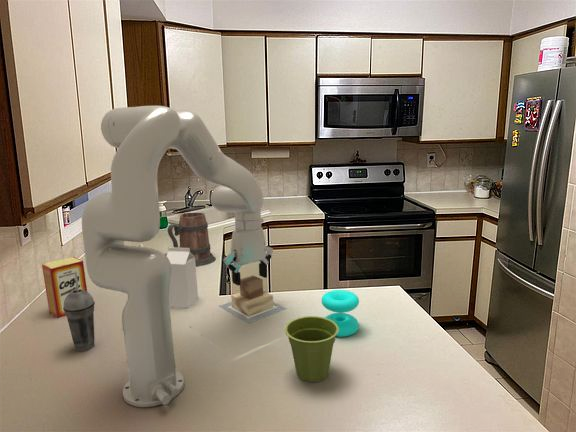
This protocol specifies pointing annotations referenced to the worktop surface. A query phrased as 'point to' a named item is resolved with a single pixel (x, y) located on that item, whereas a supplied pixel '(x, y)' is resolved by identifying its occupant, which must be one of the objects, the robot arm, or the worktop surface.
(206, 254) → the tankard
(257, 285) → the walnut block
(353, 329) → the donuts
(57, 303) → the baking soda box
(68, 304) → the beverage cup
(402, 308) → the worktop surface
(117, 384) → the worktop surface
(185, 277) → the milk carton
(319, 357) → the plant pot
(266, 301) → the maple slab
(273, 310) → the board
